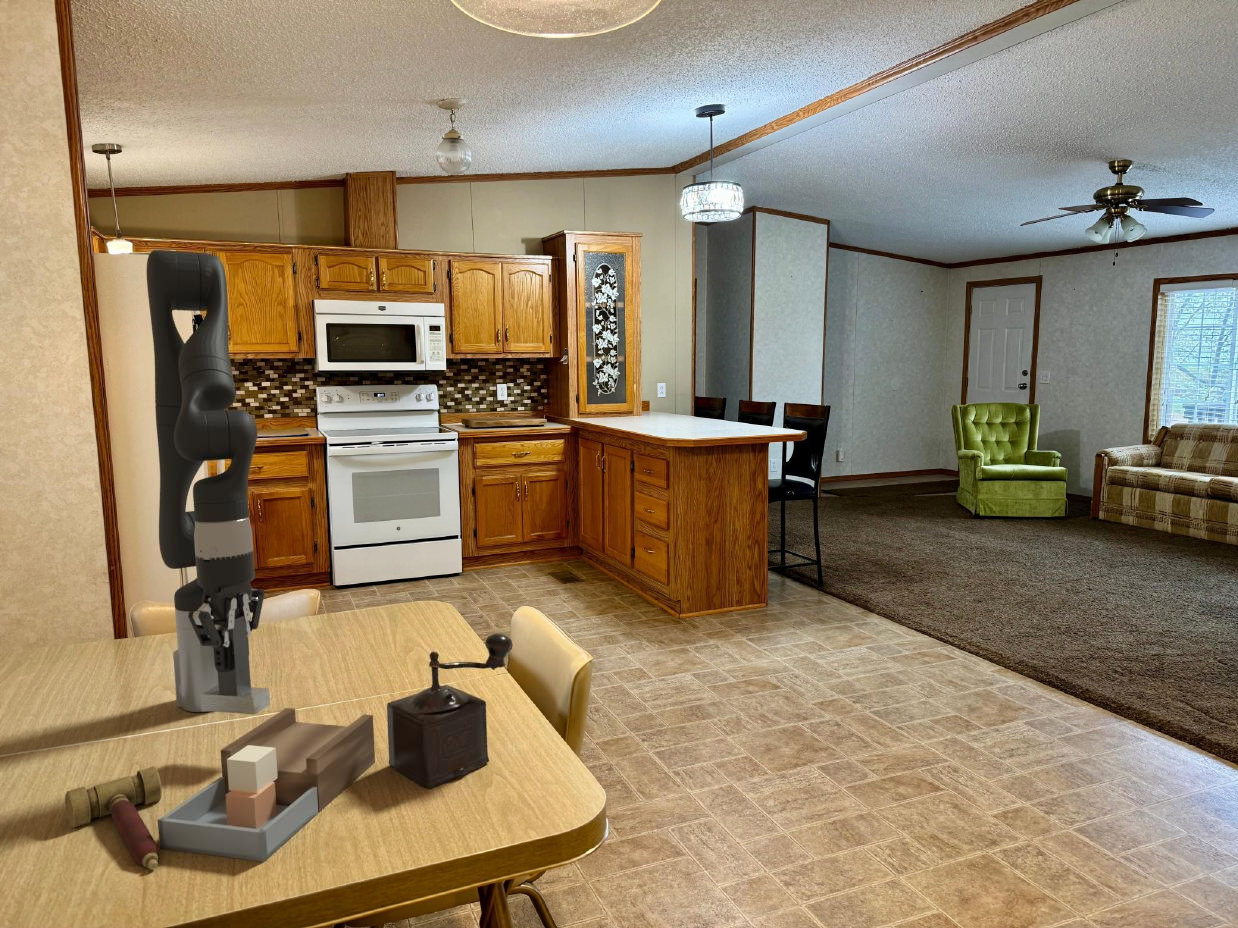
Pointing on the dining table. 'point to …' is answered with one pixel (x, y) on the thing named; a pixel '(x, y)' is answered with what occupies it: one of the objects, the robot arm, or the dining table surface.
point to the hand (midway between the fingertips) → (232, 666)
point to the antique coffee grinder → (442, 725)
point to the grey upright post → (236, 680)
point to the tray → (208, 832)
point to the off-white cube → (252, 769)
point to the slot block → (310, 755)
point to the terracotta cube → (251, 807)
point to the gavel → (121, 810)
